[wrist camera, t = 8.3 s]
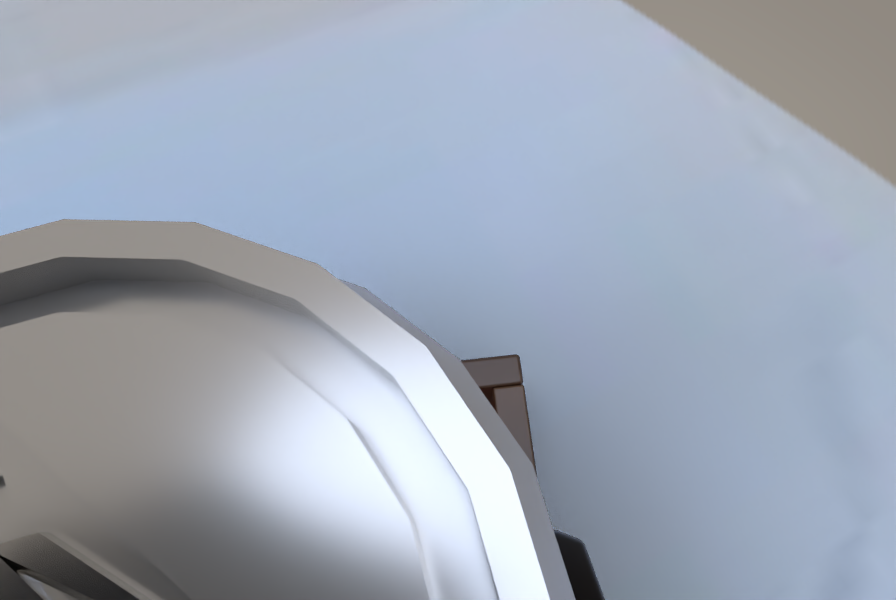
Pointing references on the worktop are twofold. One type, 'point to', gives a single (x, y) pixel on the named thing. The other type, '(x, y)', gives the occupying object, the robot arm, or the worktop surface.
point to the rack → (505, 394)
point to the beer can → (243, 433)
